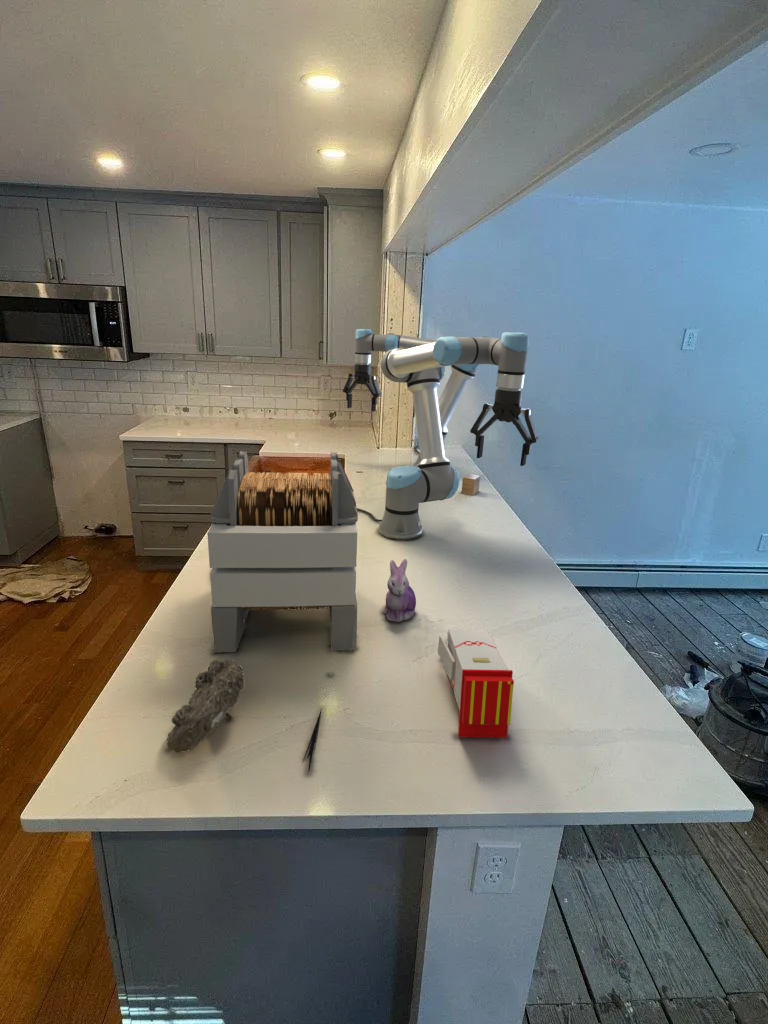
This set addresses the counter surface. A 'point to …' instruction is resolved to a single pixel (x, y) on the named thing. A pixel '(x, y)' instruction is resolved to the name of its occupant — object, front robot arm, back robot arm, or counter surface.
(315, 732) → the feather
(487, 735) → the toy
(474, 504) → the counter surface
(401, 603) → the figurine
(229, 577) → the record storage crate
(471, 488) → the brown block
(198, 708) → the fossil
